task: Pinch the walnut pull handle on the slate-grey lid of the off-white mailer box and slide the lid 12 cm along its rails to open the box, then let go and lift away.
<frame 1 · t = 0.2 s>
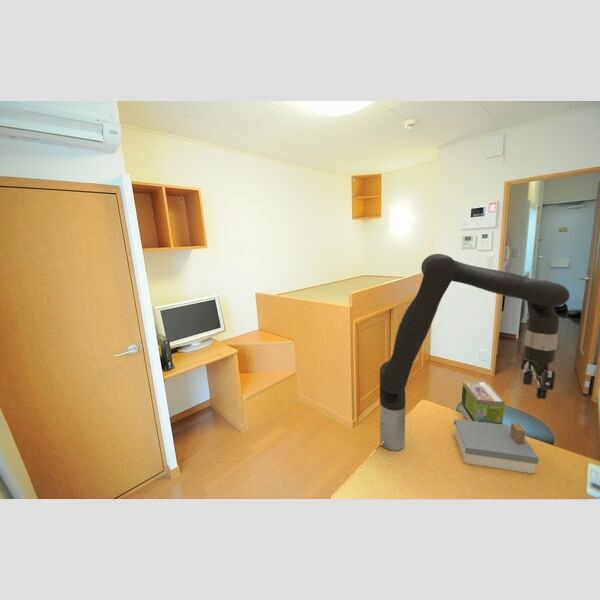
hand: (533, 390, 87), 27 cm above the table, tool pointing down, fingers open, 8 cm apart
mailer box: (490, 452, 97), on the table
tea box: (479, 421, 113), on the table
lid: (492, 433, 95), point 8 cm above the table, slide at 0.0 cm
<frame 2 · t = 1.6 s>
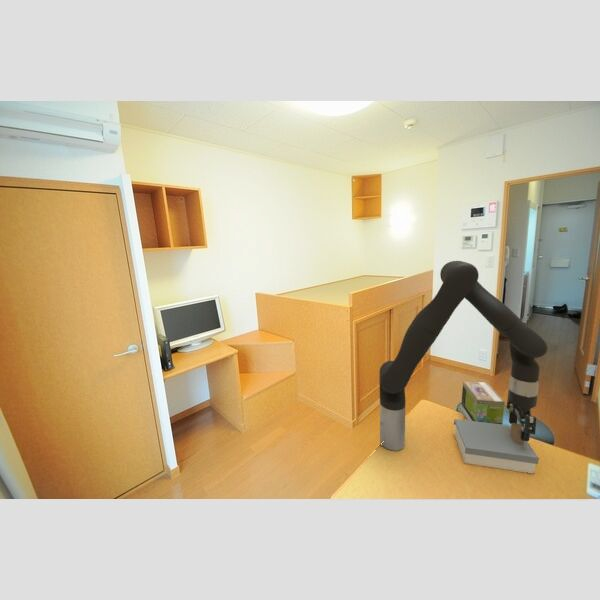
hand: (518, 431, 92), 10 cm above the table, tool pointing down, fingers open, 8 cm apart
nothing on the table moved.
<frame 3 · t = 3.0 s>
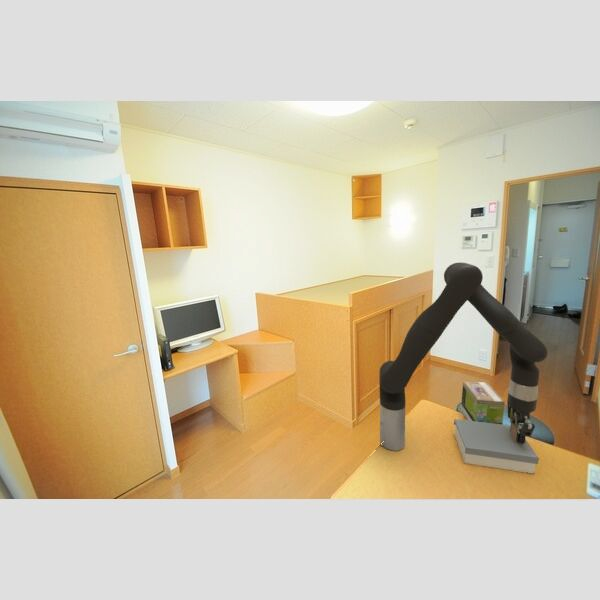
hand: (517, 437, 93), 8 cm above the table, tool pointing down, fingers closed on lid, 4 cm apart
lid: (492, 433, 95), point 8 cm above the table, slide at 0.0 cm, touching gripper
everything else where it was.
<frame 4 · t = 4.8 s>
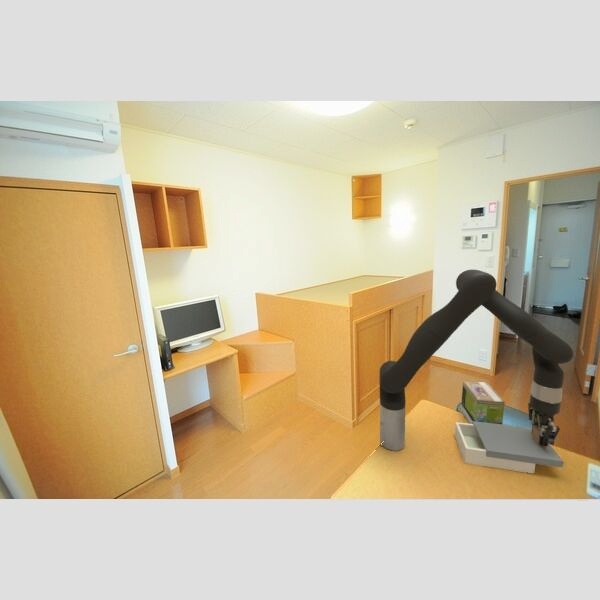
hand: (539, 440, 91), 8 cm above the table, tool pointing down, fingers closed on lid, 4 cm apart
lid: (513, 435, 93), point 8 cm above the table, slide at 6.4 cm, touching gripper
everything else where it was.
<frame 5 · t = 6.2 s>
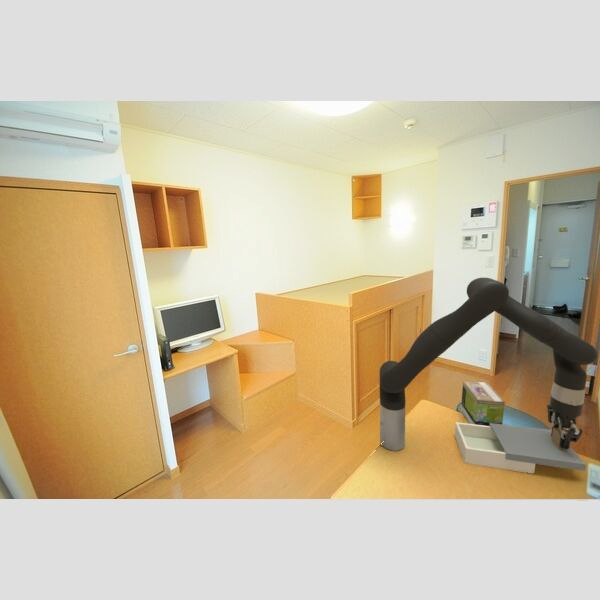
hand: (559, 442, 89), 8 cm above the table, tool pointing down, fingers closed on lid, 4 cm apart
lid: (532, 438, 92), point 8 cm above the table, slide at 12.0 cm, touching gripper
everything else where it was.
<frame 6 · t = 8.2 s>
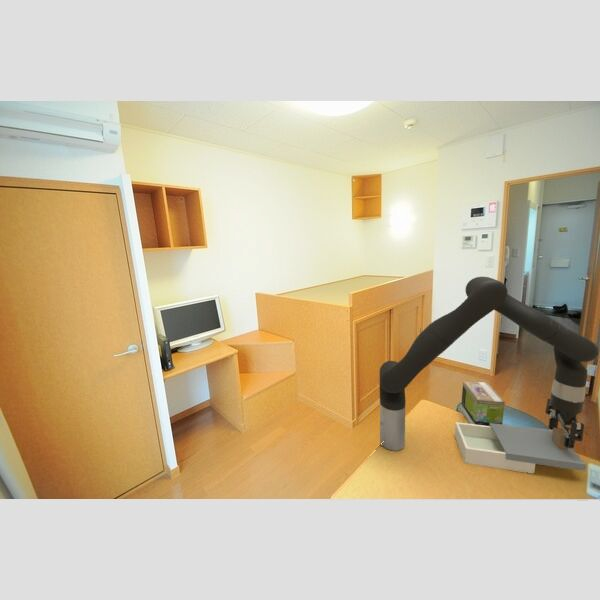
hand: (560, 437, 89), 10 cm above the table, tool pointing down, fingers open, 8 cm apart
lid: (532, 438, 92), point 8 cm above the table, slide at 12.0 cm
everything else where it was.
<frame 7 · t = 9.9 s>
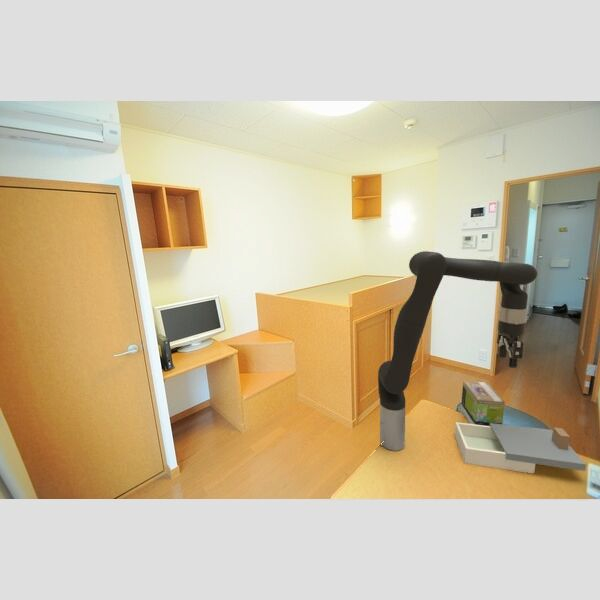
hand: (507, 361, 97), 32 cm above the table, tool pointing down, fingers open, 8 cm apart
nothing on the table moved.
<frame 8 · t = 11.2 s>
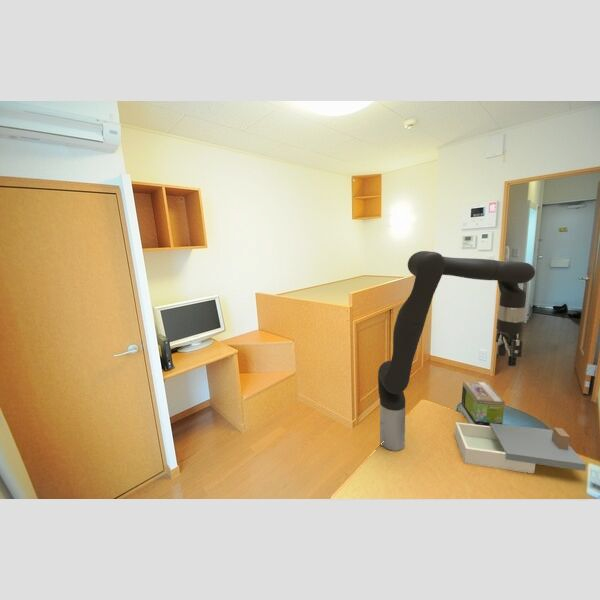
hand: (506, 360, 98), 32 cm above the table, tool pointing down, fingers open, 8 cm apart
nothing on the table moved.
at the end: lid slide at 12.0 cm; tea box moved 0.2 cm from its start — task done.
